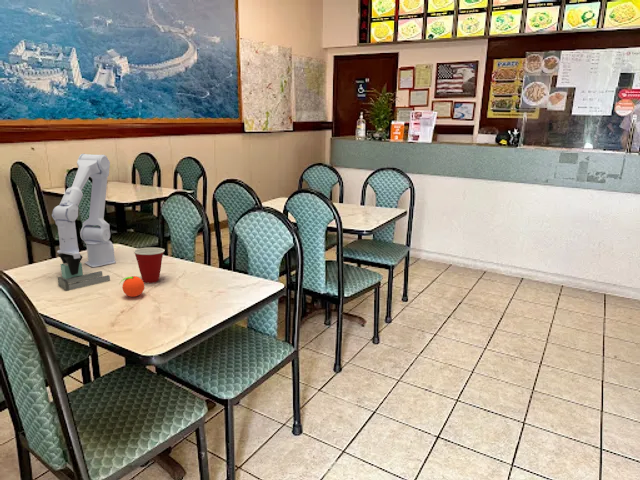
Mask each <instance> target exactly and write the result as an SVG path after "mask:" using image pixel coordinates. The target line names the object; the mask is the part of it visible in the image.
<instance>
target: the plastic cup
mask: <svg viewBox="0 0 640 480" xmlns="http://www.w3.org/2000/svg"><path fill="white" fill-rule="evenodd" d="M165 250H166V249H165V248H161V247H142V248H136V249H134V250H133V251H132V252H133V254H134V255H135V257H136V258H135V259H136V261H137V266H138V269H139V273H140V277H141V279H142V280H143V282H144V284H153V283H156V282H159V281H160V276H161V270H162V261H163V255H164V253H165Z"/></svg>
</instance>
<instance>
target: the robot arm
mask: <svg viewBox="0 0 640 480" xmlns="http://www.w3.org/2000/svg"><path fill="white" fill-rule="evenodd" d="M76 165H77V170H76V174H75V177H74V179H73V182H72V185H71V186H70V187H68V188H66V190H65V191H64V194H63V196H62V197H61V198H62V199H61V200H60V203H59V205H57V206H54V208H53V209H52V213H51V217H52V219H53V221H54V222H55V225H56V226H57V233H58V240H59V246H58V247H59V249H58V250H57V251H56V253H58V255H57V256H58V257H59V258H60V259H61V261H62V264H63V263H67V264H68V266H69V270H70V273H71V275H75V274H78V269H79V264H80V262H81V261H82V258H83V255H81V253H80V249H79V243H78V236H77V227H76V220H77V219H78V217H79V205H80V203H81V201H82V200H83V195H84V193H83V191H82V190H83V189H84V187H85V185H86V184H87V182H88V180H89V178H91V179H92V181H91V183H92V185H91V194H90V204H89V213H88V215H89V216H88V218H87V219H85V221H83V222H82V227H81V229H80V238H81V240H82V241H83V242H84V244H86V250H87V251H86V252H87V261H84V264H86V265H87V266H88V267H91V268H98V267H101V266H107V265H112V264H115V263H117V262H116V259H115V248H114V245H113V242H112V241H111V240H110V238H111V230H110V226H111V225H110V223H108V222H107V221H106V220H105V218H104V217H105V208H106V198H107V188H108V187H107V186H108V177H110V176H109V175H110V168H111V166H110V165H111V162H110V159H109V158H108V156H107V155H105V154H89V153H81V154H80V155H79V156H78V158H77V160H76Z"/></svg>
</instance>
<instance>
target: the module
mask: <svg viewBox="0 0 640 480" xmlns="http://www.w3.org/2000/svg"><path fill="white" fill-rule="evenodd" d="M82 264H83V263H82V262H81V261H80V264H79V269H78V274H75V275H71V273H70V270H69V266H68V264H67V263H63V262H62V263H60V272H61V277H62V278H63V279H67V278H71V277H76V276H80V275H84V272H83V265H82Z"/></svg>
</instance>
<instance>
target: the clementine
mask: <svg viewBox="0 0 640 480" xmlns="http://www.w3.org/2000/svg"><path fill="white" fill-rule="evenodd" d="M121 282H123V283H122V286H121V287H122V290H123V293H124V294H125V295H126V296H128V297H132V298H135V297H138V296H140V295H141V294H142V293H143V292H144V290H145V282H143V280H142V277H141V278H140V277H138V276H127V277H124V278H123V279H121V281H120V282H119V283H118V284H119V285H120V283H121Z"/></svg>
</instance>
